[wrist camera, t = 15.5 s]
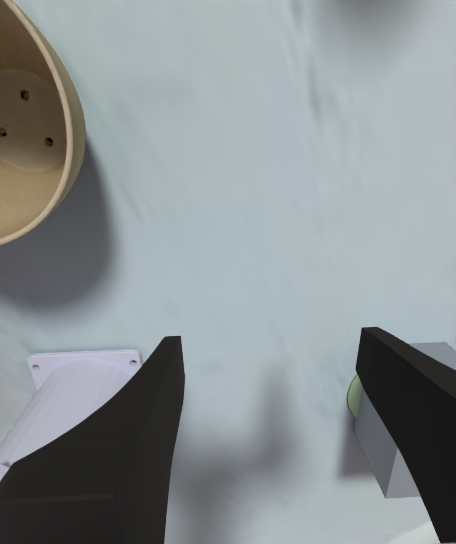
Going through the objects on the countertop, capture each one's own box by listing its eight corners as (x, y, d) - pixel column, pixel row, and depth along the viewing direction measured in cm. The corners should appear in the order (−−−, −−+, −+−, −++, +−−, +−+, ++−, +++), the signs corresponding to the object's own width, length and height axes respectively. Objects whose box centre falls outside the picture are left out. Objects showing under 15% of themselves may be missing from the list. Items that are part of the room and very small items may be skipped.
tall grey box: (422, 427, 28) (469, 493, 23) (353, 431, 28) (385, 498, 23) (445, 342, 24) (507, 397, 19) (367, 346, 24) (408, 402, 19)
